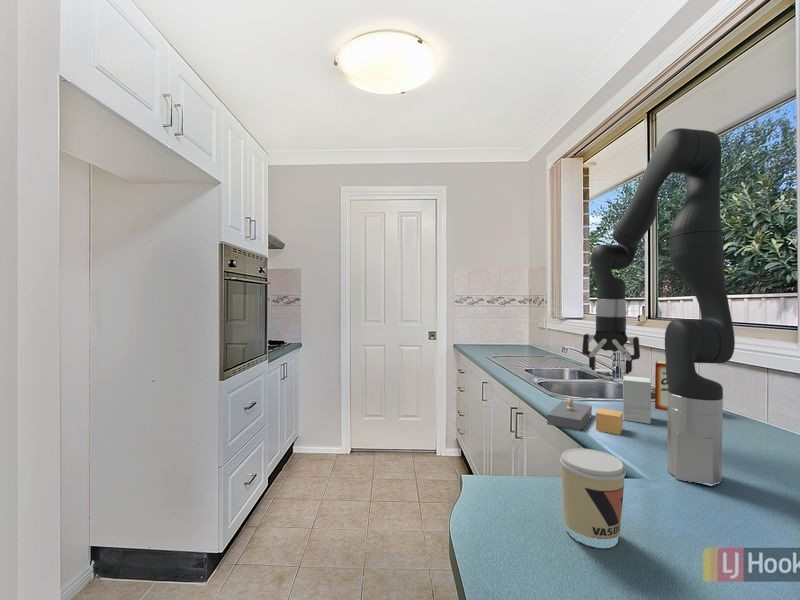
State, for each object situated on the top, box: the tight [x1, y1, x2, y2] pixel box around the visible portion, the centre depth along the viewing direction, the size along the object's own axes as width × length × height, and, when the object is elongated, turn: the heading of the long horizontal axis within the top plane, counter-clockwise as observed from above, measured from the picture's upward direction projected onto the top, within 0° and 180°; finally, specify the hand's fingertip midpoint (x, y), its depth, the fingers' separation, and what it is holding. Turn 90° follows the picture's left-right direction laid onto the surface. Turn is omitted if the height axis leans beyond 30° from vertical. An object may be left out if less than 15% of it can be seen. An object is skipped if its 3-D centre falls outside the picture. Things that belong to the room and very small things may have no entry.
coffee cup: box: [559, 447, 627, 539], centre depth 61 cm, size 9×9×12 cm
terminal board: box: [546, 397, 593, 432], centre depth 118 cm, size 18×9×6 cm, turn 144°
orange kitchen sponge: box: [595, 407, 624, 436], centre depth 109 cm, size 6×6×5 cm
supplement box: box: [622, 375, 652, 425], centre depth 119 cm, size 7×7×13 cm
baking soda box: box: [654, 359, 668, 412], centre depth 130 cm, size 10×6×16 cm
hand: (610, 371), depth 109 cm, fingers open, 8 cm apart
